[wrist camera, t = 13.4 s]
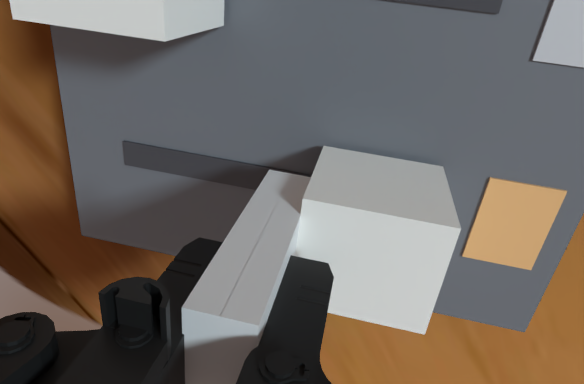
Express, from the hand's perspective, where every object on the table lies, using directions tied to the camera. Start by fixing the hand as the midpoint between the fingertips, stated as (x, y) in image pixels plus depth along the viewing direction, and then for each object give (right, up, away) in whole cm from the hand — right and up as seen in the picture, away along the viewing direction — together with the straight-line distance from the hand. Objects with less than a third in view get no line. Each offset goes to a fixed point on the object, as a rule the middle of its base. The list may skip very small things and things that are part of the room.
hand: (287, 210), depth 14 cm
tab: (+3, 0, +1) cm, 3 cm away
